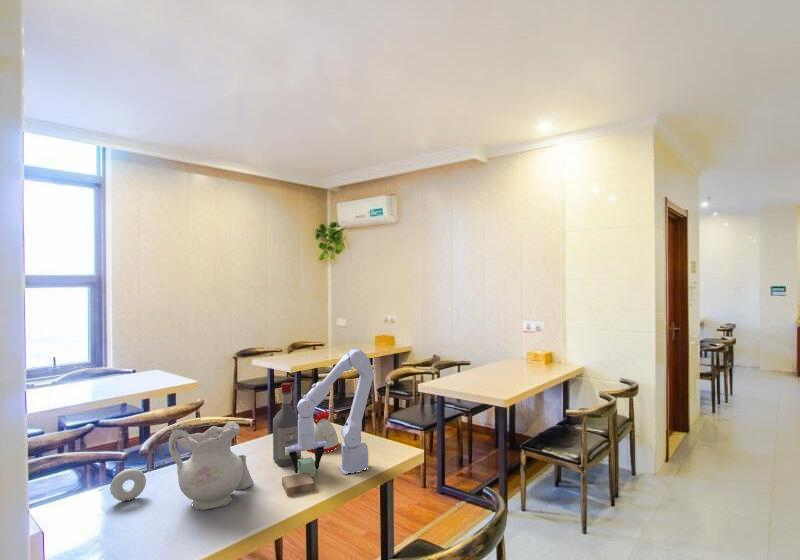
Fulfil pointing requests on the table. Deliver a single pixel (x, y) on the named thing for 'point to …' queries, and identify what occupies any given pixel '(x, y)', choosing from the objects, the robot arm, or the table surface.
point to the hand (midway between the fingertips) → (306, 470)
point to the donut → (126, 475)
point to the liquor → (285, 429)
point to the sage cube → (306, 466)
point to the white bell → (325, 432)
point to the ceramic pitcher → (208, 465)
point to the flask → (245, 475)
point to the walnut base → (297, 483)
